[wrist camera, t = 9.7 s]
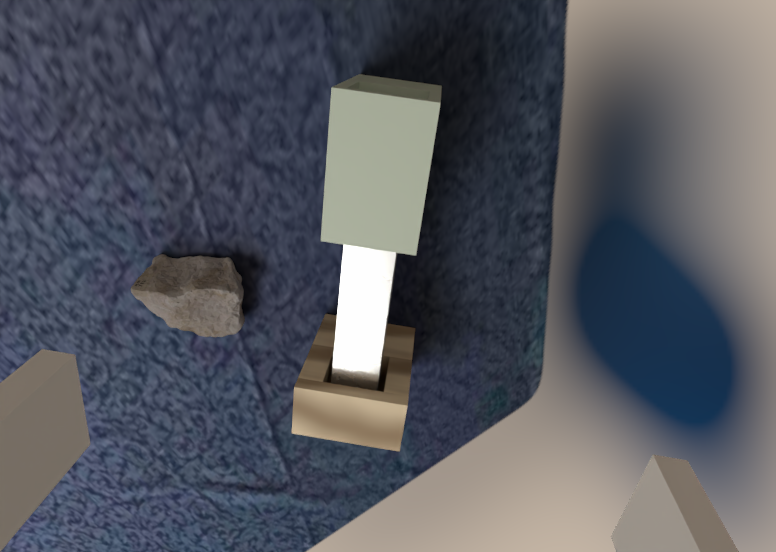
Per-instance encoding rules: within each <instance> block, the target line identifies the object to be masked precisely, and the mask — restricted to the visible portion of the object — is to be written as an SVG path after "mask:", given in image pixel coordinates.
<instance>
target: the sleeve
mask: <svg viewBox="0 0 776 552" xmlns="http://www.w3.org/2000/svg"><path fill="white" fill-rule="evenodd" d="M441 89H442V86H440V85H433V84H426V83H419V82H412V81H405V80H398V79H390V78H383V77H376V76H369V75H362V74H359V75H357V76H355V77H353V78H351V79H348V80H346V81H344V82H342V83H340V84H338V85H336V86H333V87H332V89H331V103H330V118H329V132H328V146H327V160H326V174H325V188H324V202H323V216H322V231H321V241H324V242H331V243H337V244H344V245H350V246H357V247H363V248H370V249H376V250H383V251H389V252H396V253H402V254H409V255H415V256H416V253H417V247H418V240H419V234H420V228H421V222H422V216H423V209H424V203H425V197H426V191H427V185H428V178H429V172H430V166H431V160H432V154H433V147H434V141H435V135H436V129H437V123H438V116H439V110H440V104H441Z"/></svg>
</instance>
